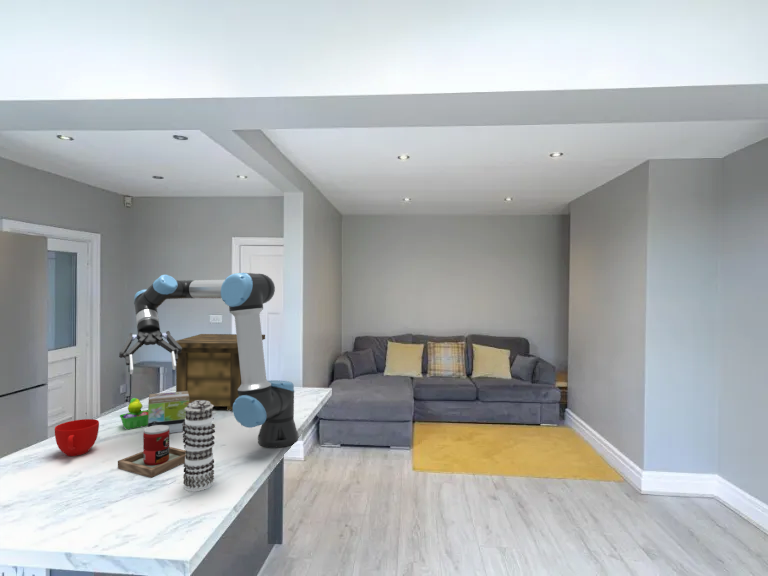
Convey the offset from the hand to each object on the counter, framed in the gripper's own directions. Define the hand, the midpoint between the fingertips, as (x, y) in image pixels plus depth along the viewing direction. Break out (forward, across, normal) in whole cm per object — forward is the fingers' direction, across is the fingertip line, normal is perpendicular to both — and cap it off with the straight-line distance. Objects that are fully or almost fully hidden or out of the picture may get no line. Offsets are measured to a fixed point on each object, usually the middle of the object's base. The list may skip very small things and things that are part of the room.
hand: (153, 369), depth 156 cm
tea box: (+5, -9, -38) cm, 39 cm away
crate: (-17, -37, -59) cm, 72 cm away
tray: (+28, +1, -13) cm, 31 cm away
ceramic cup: (+12, +23, -31) cm, 40 cm away
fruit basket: (-5, +2, -48) cm, 48 cm away
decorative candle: (+46, -8, +4) cm, 47 cm away
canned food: (+28, 0, -13) cm, 31 cm away
